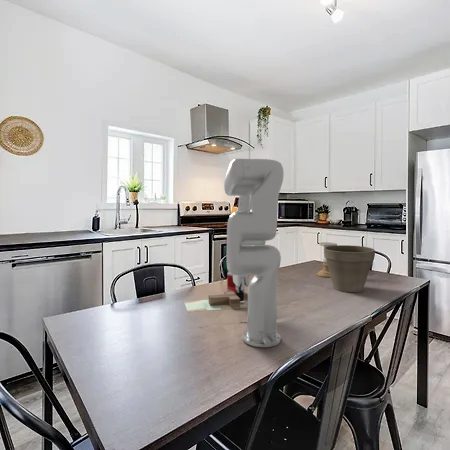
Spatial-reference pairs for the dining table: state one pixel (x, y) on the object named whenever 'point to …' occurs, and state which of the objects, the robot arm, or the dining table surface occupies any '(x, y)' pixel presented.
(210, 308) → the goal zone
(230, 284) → the canned food
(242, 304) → the board
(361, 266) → the plant pot
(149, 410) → the dining table surface
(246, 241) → the robot arm
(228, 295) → the t block
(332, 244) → the candle holder
